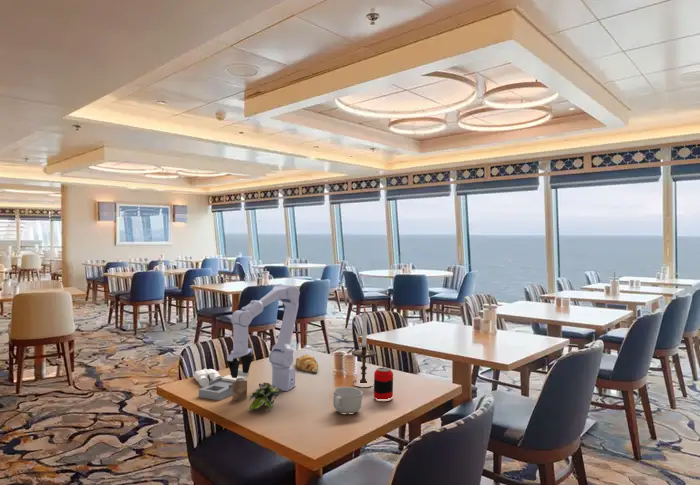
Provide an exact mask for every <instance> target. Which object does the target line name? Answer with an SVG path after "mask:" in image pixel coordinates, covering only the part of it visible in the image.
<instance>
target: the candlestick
mask: <svg viewBox="0 0 700 485" xmlns="http://www.w3.org/2000/svg"><path fill="white" fill-rule="evenodd" d="M367 320H368V316H367V315H366V308H365V306H363V315H362V326H361V327H362V328H361V330H362V333H361V334H362V336H361V345H359V347H360V348H361V349H354V350H352V351H351V355H352V356H353V357H357V358H361V359H362V362H361V363H362V364H361V366H360V370H361V372H360V375H361V377H362V378H361V379H359V380H360V383H367V381H366V380H367V379H366V375H367V369H368V367H367V366H366V359H367V358H373V357H376V356H377V351H376V350H372V349H367V348H369V345H367V337H368V336H367V332H368V330H367V328H368V326H367V325H368V324H367V322H368V321H367ZM353 383H354V381H353Z"/></svg>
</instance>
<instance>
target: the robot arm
mask: <svg viewBox="0 0 700 485" xmlns="http://www.w3.org/2000/svg"><path fill="white" fill-rule="evenodd" d="M300 295H301V292H300V290H299V288H298V287H297V286H296V285H295V284H293V285H291V284H283V283H278V284H277V285H275V286H273V288H272V289H271V290H270V291H269V292H267V293H266V294H265V295H264V296H263V297H262V298H260V299H259V300H256V299H253V300H251V301H249V302H250V303H248V304H247V305H245V306H243V307H241V309H240V310H235V311H233V313H232V315H231V317H230V319H229V320H230V322H231V324H232V328H233V333H232V334H233V336H232V338H233V339H232V341H233V344H232V346H233V347H232V350H231V351H230V354H227V359H225V363H226V364H227V367H228V368H229V371H230V374H231V376H232V378H237V376H238V369H240V364H241V366H242V367H241V369H242V370H243V373H248V371H249V372H250V367H251V365H252V361H253V359H254V358H255V355H254V354H253V353H254V352H253V351H254V349H253V348H250V347H249V326H250V324H251V323H252V320H253V319H254V318H255V317H257V316H258V315H260V314H261V313H263V311H264V307H265V308H266V307H267V306H268V305H270V304H271V303H273V302H275V301H276V300H279V301H280V302H282V304H283V305H284V307H285V308H284V312H283V317H282V321H281V326H280V328H279V329H280V331H279V334H278V340H277V343H275V344H274V345H273V346H272V350H270V352H269V355H268V361H269V363H270V364H271V368H272V371H271V380H272V381H271V385H272V386H273V385H274V386H275V388H277V387H279V389H281V391H284V392H288V391H290V390H291V389H294V388H296V386H297V385H296V370H295V368H293V367H291V366H292V364H293V362H294V349H293V348H292V346H291V342H292V338H293V334H294V328H295V324H296V320H297V315H298V310H299V302H300V301H299V299H300ZM238 358H240V360H238Z"/></svg>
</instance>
